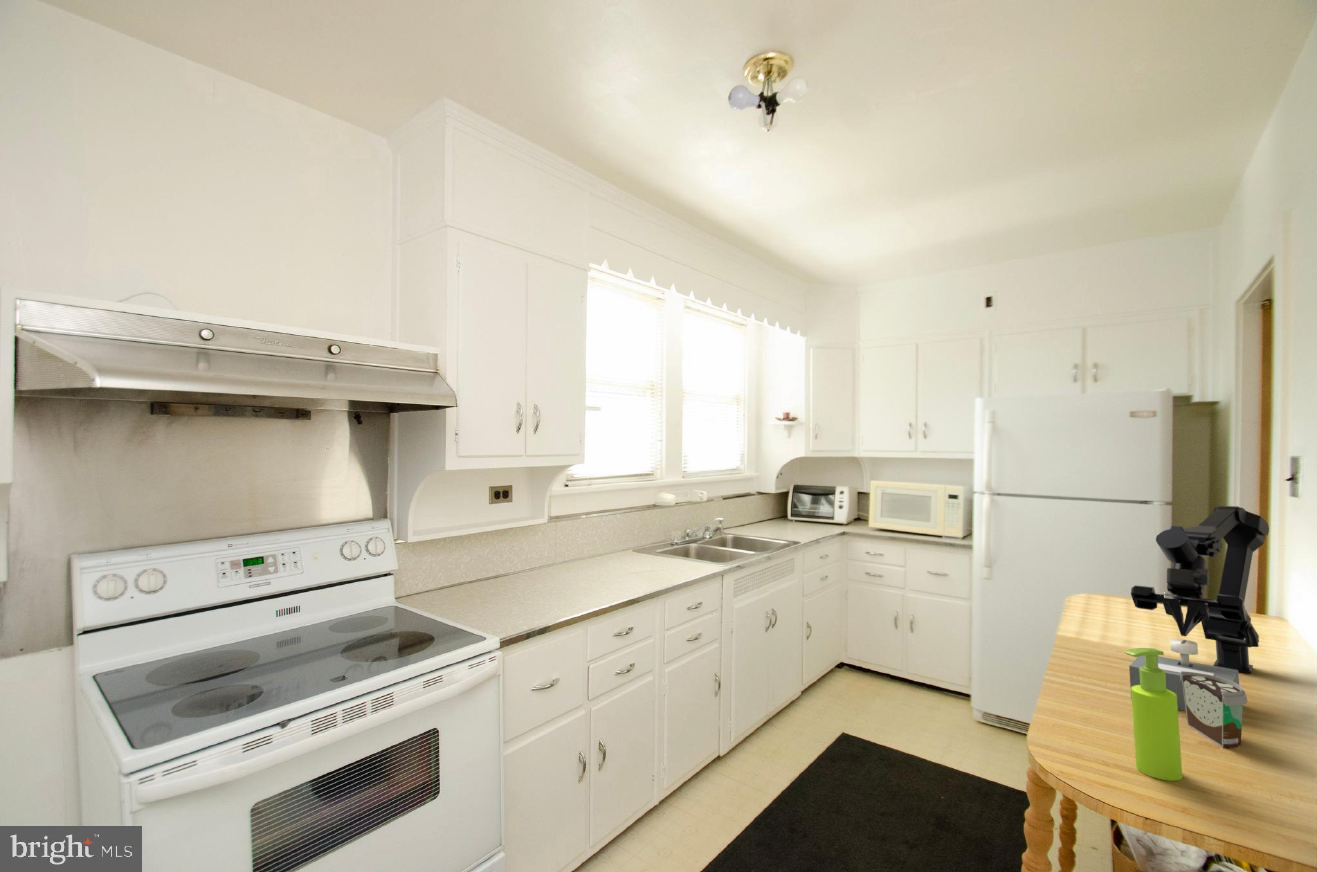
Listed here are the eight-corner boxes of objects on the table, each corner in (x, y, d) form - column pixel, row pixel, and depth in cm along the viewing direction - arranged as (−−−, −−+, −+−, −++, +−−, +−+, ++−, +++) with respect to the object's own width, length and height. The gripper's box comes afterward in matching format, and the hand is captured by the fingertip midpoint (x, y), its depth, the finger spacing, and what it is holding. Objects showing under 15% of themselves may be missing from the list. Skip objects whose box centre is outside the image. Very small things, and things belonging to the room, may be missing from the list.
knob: (1174, 665, 132) (1172, 637, 132) (1200, 670, 128) (1198, 641, 129) (1170, 670, 129) (1168, 641, 129) (1197, 675, 125) (1195, 645, 126)
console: (1143, 684, 136) (1141, 652, 137) (1240, 704, 124) (1238, 669, 125) (1131, 698, 128) (1129, 664, 129) (1234, 721, 116) (1231, 684, 117)
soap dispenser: (1121, 764, 101) (1113, 645, 102) (1158, 761, 102) (1151, 643, 103) (1152, 782, 96) (1144, 655, 97) (1192, 779, 96) (1183, 653, 97)
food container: (1270, 754, 103) (1266, 695, 104) (1229, 752, 105) (1224, 694, 105) (1219, 724, 116) (1215, 671, 116) (1182, 722, 117) (1179, 670, 117)
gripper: (1129, 550, 140) (1121, 606, 133) (1240, 558, 126) (1238, 621, 118) (1139, 579, 145) (1132, 634, 137) (1246, 590, 131) (1245, 652, 123)
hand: (1183, 635), depth 129 cm, fingers closed
